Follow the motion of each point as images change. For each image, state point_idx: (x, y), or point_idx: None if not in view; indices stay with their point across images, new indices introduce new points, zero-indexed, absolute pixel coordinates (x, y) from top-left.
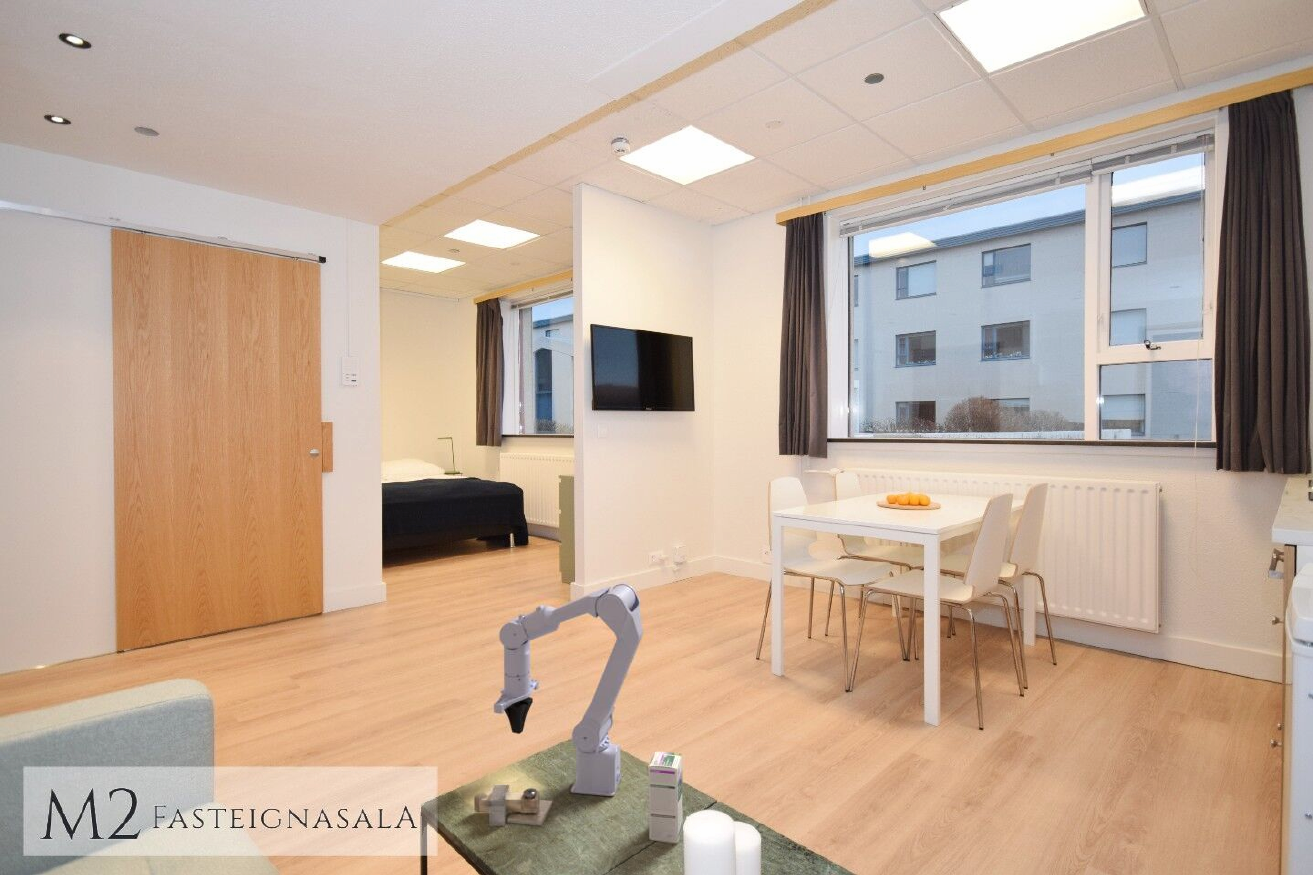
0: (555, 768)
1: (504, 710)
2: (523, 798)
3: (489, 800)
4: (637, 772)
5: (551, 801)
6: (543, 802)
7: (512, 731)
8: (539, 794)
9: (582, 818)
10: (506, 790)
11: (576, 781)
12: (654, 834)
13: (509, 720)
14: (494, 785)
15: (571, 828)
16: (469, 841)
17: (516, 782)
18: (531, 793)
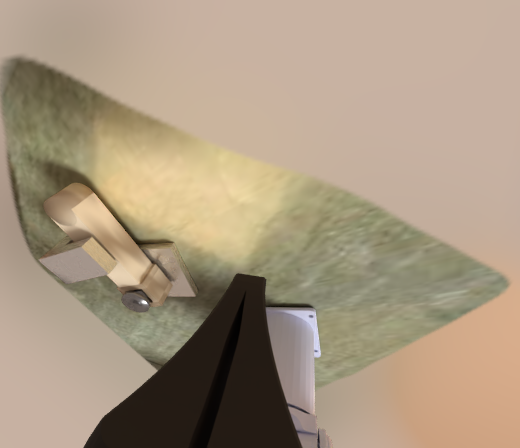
0: (322, 263)
1: (139, 388)
2: (124, 289)
3: (38, 260)
4: (340, 366)
5: (193, 295)
6: (183, 286)
7: (233, 279)
8: (163, 300)
9: (192, 327)
10: (91, 276)
11: (273, 312)
12: None
13: (203, 324)
14: (80, 247)
15: (165, 320)
16: (31, 210)
17: (231, 206)
18: (132, 306)
